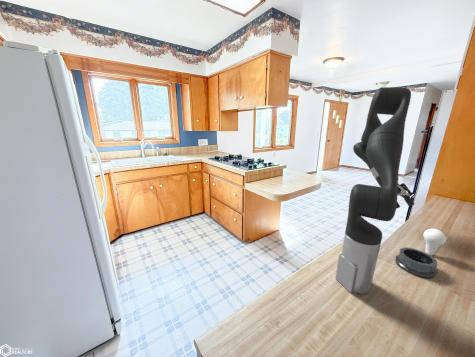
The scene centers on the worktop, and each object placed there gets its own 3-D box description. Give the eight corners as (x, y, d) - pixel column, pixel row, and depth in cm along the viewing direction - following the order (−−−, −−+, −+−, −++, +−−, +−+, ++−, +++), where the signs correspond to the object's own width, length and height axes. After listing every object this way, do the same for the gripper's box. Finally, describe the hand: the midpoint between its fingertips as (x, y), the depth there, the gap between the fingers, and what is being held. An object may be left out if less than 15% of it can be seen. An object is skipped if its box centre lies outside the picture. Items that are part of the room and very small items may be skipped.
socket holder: (422, 281, 62) (425, 270, 60) (387, 259, 72) (390, 249, 70) (444, 274, 64) (448, 263, 63) (408, 254, 75) (411, 244, 73)
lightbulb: (444, 260, 71) (453, 235, 68) (425, 258, 72) (433, 233, 69) (432, 250, 77) (439, 226, 74) (414, 248, 78) (421, 225, 75)
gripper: (378, 171, 83) (401, 205, 76) (402, 169, 87) (425, 201, 80) (365, 180, 90) (385, 212, 82) (387, 177, 94) (408, 207, 86)
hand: (405, 206), depth 81 cm, fingers open, 8 cm apart
